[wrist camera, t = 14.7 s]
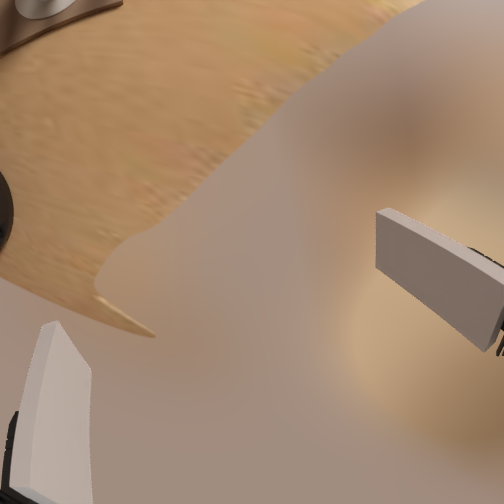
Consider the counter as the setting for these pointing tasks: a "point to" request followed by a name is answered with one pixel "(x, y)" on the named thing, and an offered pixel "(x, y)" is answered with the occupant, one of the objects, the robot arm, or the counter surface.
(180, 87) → the counter surface
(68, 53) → the counter surface
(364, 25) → the counter surface
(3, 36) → the board
